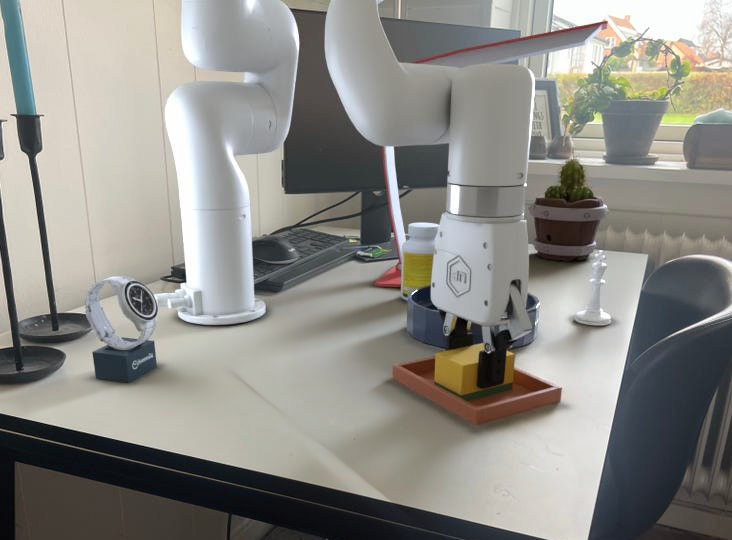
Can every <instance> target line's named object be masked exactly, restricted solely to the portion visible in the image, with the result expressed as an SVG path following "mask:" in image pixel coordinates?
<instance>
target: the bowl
mask: <svg viewBox="0 0 732 540" xmlns="http://www.w3.org/2000/svg"><path fill="white" fill-rule="evenodd" d="M406 302H407V303H406V304H407V305H406V307H407V308H406V332H407V333H408V334H409V335H410V336H411V337H412V338H413V339H416V340H418V341H420V342H423V343H425V344H427V345H432V346H437V347H440V348H444V349H446V340H447V337H448V336H446V335H445V334H444V332H443V326H444V323H443V321H442V319H441V316H440V314H439V310H438V309H437V307H436V306H435V305H434V304H433V303H432V301H431V285H428V286H424V287H420V288H417V289H414V290H413V291H411V292H410V293H409V294H408V301H406ZM540 307H541V302H540V300H539V299H538V297H537V296H536V295H535V294H532V293H530V292H528V294H527V302H526V310H527V313H528V316H529V318H530V321H531V324H532V327H533V328H532V331H531V332H530V333H528V334H526V335H524V336H522V337H520V338H519V339H518V340H517V341H516V342H514V343H513V344H512V347H511V348H510V349H515V348H519V347H524V346H526V345H528V344H530V343H532V342H534V341H535V339H536V337H537V335H538V329H539V328H538V327H539V317H540ZM510 322H511V320H510ZM469 332H471V333H473V345H476V344H481V343H483V334H482V325H479V324H476V323H473V322H471V326H470V330H469V331H468V332H467V333H469ZM498 333H499V326H495V327H494V334H495V336H496V335H497V334H498ZM510 349H509V350H510Z"/></svg>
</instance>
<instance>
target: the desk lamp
mask: <svg viewBox="0 0 732 540" xmlns="http://www.w3.org/2000/svg"><path fill="white" fill-rule="evenodd" d="M608 22H609V21H608V20H604V21H599V22H593V23H588V24H584V25H583V24H582V25H578V26H573V27H567V28H563V29H558V30H553V31H546V32H542V33H537V34H532V35H527V36H521V37H517V38H512V39H506V40H502V41H496V42H492V43H487V44H482V45H476V46H471V47H465V48H461V49H457V50H453V51H449V52H445V53H442V54H437V55H434V56H430V57H427V58H423V59H419V60H416V61H411V62H410V63H413V64H427V65H439V66H450V67H457V68H463V67H465V66H470V65H480V64H505V63H508V62H513V61H517V60H521V59H526V58H532V57H536V56H540V55H545V54H549V53H554V52H560V51H563V50H569V49H572V48H573V49H574V48H577V47H583V46H586V45H587V44H588V43H589V42H590V41H591V40H592V39H593V38H595V36H596V35H597V34H598V33H600V31H603V30H607V29H608V24H609V23H608ZM381 149H382V162H383V172H384V173H383V174H384V181H385V188H386V196H387V204H388V212H389V217H390V222H391V227H392V233H393V238H394V242H395V248H396V253H397V258H398V262H397V264H396V265H394V266H393V267H392V268H391V269H389V270H388V271H387V272H385V273H384V274H383V275H381V277H379V278H378V279H377V280H376V281H375V282H374V286H375V287H380V288H381V287H382V288H383V287H384V288H401V273H402V246H403V244H404V242H406V241H407V238H406V234H405V228H404V222H403V217H402V209H401V205H400V196H399V187H398V180H397V178H398V177H397V171H396V160H395V146H394V147H385V146H381Z"/></svg>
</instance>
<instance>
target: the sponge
mask: <svg viewBox="0 0 732 540" xmlns="http://www.w3.org/2000/svg"><path fill="white" fill-rule="evenodd" d="M482 350H484V345H483V343H481V344H476V345H472V346H467V347H462V348H458V349H453V350H448V351H446V350H443V351H439V352H435V355H434V356H435V379H434V381H435V382H434V384H435V385H437V386H439V387H441V388H442V389H444V390H446V391H448V392H450V393H452V394H454V395H456V396H457V397H459V398H461V399H463V400H465V401H469V400H473V399H477V398H481V397H484V396H488V395H492V394H496V393H500V392H504V391H507V390H511V389H512V386H513V374H514V367H515V364H516V363H515V362H516V353H514V352H511V351H509V350H507V353H506V365H505V377H504V382H503V384H501V385H497V386H493V387H489V388H485V389H481V388H479V387H478V386H477V379H478V365H479V362H478V359H479V351H482Z"/></svg>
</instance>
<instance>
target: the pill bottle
mask: <svg viewBox="0 0 732 540" xmlns="http://www.w3.org/2000/svg"><path fill="white" fill-rule="evenodd" d="M438 228H439V223H434V222H412V223H409V224H408V228H407V234H408V235H409V239H406V242H404V244H403V246H402V273H401V287H400V296H401V298H402V299H403V300H404V301H406V302H408V294H409V293H410V292H411V291H413V290H414V289H417V288H420V287H424V286H428V285H431V278H432V267H433V258H434V250H435V243H436V237H437V232H438Z"/></svg>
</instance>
